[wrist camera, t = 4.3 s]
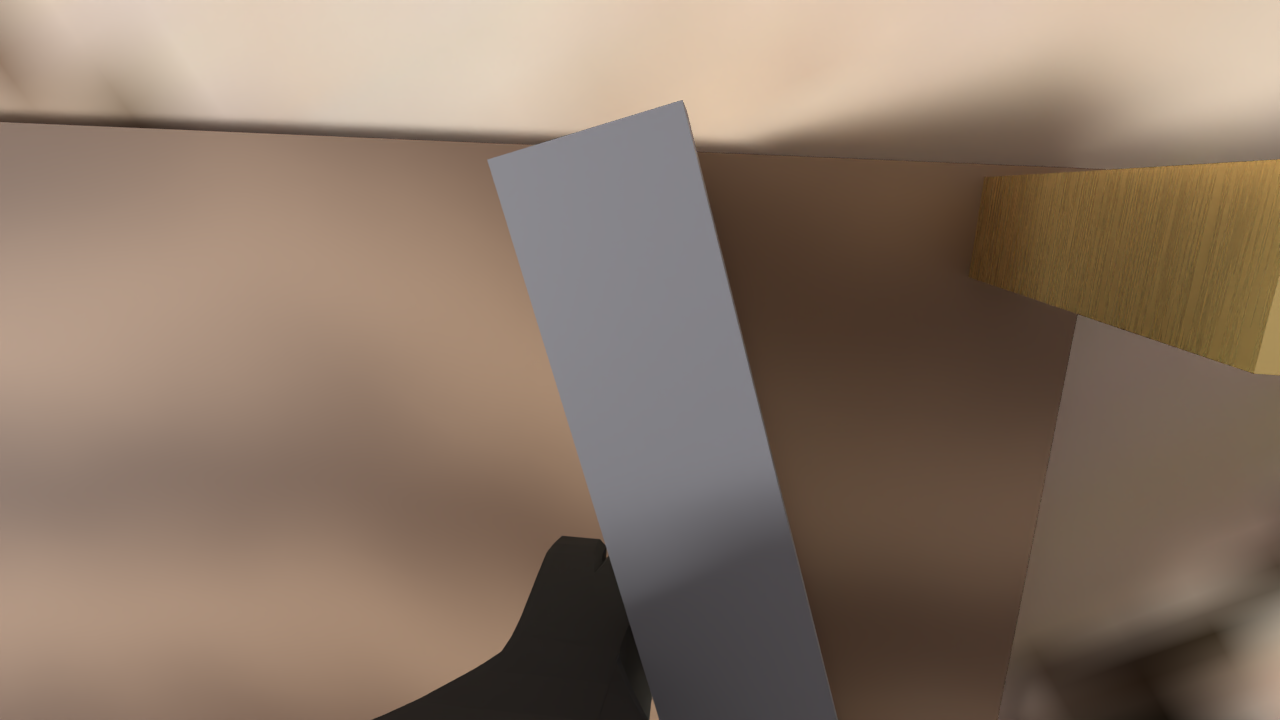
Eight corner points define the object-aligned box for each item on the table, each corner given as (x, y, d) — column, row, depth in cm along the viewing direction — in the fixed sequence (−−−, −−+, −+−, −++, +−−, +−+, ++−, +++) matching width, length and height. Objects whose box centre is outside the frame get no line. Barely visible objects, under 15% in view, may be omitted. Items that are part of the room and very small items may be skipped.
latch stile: (1044, 281, 11) (1424, 386, 5) (968, 277, 12) (1252, 372, 5) (1062, 181, 11) (1495, 165, 5) (984, 177, 11) (1310, 157, 5)
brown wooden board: (943, 873, 15) (1144, 1485, 8) (37, 748, 18) (-450, 1145, 10) (1074, 171, 12) (1641, 136, 5) (-79, 121, 14) (-950, 43, 7)
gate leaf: (852, 760, 13) (935, 1119, 8) (760, 772, 14) (784, 1126, 9) (700, 143, 11) (682, 100, 6) (592, 175, 11) (487, 159, 6)
